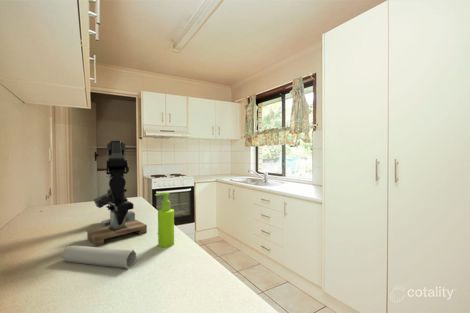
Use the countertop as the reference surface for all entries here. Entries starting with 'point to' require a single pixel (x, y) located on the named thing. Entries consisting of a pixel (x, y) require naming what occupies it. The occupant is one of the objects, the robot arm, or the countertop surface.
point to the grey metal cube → (105, 223)
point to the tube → (100, 256)
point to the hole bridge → (114, 232)
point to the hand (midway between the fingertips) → (117, 223)
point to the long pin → (115, 222)
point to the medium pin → (130, 216)
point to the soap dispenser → (165, 222)
